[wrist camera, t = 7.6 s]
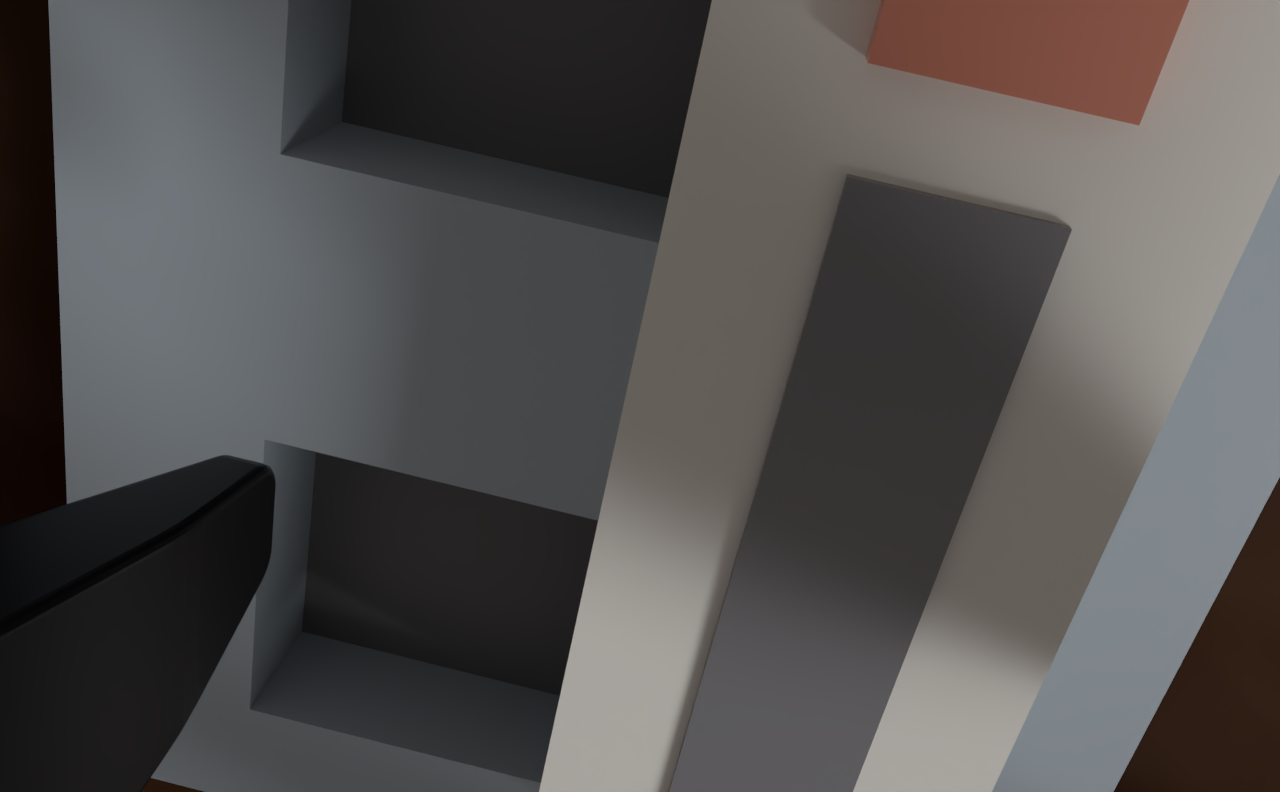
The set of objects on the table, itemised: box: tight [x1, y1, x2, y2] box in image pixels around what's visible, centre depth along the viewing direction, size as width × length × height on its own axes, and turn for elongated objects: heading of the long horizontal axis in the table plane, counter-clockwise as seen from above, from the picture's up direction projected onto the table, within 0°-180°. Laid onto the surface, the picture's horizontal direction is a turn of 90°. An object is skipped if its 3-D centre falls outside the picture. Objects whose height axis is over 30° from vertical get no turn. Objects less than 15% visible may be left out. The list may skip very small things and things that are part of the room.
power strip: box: [539, 0, 1280, 792], centre depth 12 cm, size 13×4×5 cm, turn 169°
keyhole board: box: [48, 0, 1280, 792], centre depth 14 cm, size 16×14×2 cm
